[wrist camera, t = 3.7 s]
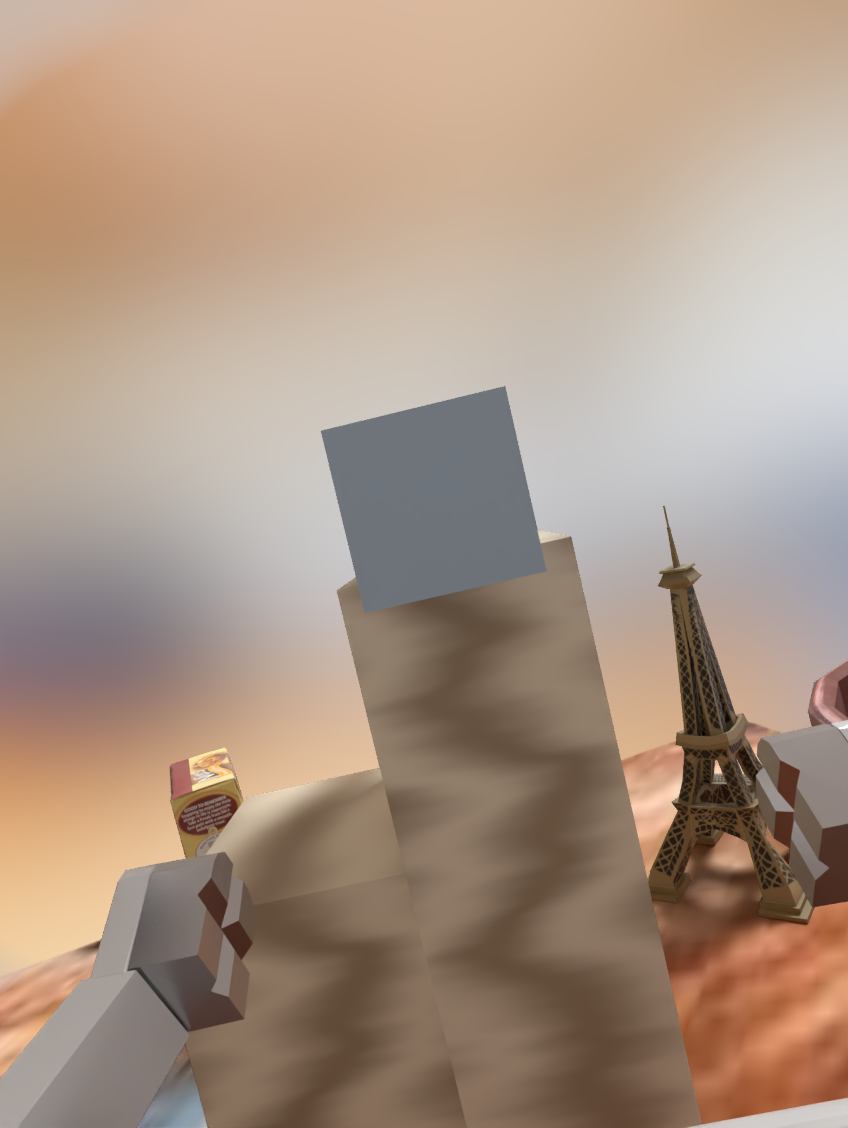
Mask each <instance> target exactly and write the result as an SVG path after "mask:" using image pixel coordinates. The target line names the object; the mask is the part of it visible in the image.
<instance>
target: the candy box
mask: <svg viewBox="0 0 848 1128" xmlns="http://www.w3.org/2000/svg"><path fill="white" fill-rule="evenodd" d="M170 783H171V784H170V785H171V800H170V801H171V805H172V809H173V813H174V817H175V820H176V824H177V828H178V831H179V835H180V838H181V842H182V846H183V850H184V854H185V857H186V859H187V858H193V857H198V856H204V855H206V853H207V852H208V850H209V849H210V848H211V846H212V845H213V843H214V842H215V841H216V839H217V838H218V836H219V835H220V834H221V832H222V831H223V829H224V828H225V827H226V825H227V824H228V822H229V821H230V820H231V818H232V817H233V815H234V814H235V812H236V811H237V810H238V808H239V807H240V805H241V804H242V803H243V797H242V794H241V790H240V787H239V784H238V781H237V777H236V774H235V771H234V768H233V766H232V763H231V760H230V758H229V755H228V753H227V750H226V748H222V749H218V750H215V751H212V752H209V753H205V754H202V755H199V756H196V757H192V758H190V759H187V760H183V761H180V762H177V763H174V764H172V765H171V766H170Z"/></svg>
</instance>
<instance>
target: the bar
mask: <svg viewBox="0 0 848 1128" xmlns="http://www.w3.org/2000/svg"><path fill="white" fill-rule="evenodd" d="M321 433H322V437H323V442H324V445H325V449H326V453H327V458H328V462H329V466H330V471H331V475H332V479H333V483H334V487H335V491H336V496H337V500H338V504H339V508H340V512H341V516H342V520H343V525H344V528H345V533H346V537H347V541H348V545H349V550H350V554H351V558H352V562H353V566H354V570H355V575H356V579H357V583H358V587H359V591H360V595H361V599H362V604H363V608H364V612H365V613H367V612H372V611H376V610H381V609H385V608H389V607H394V606H398V605H402V604H407V603H411V602H415V601H420V600H424V599H428V598H433V597H437V596H441V595H446V594H450V593H455V592H459V591H463V590H468V589H472V588H476V587H481V586H485V585H489V584H494V583H498V582H502V581H507V580H511V579H515V578H520V577H524V576H529V575H533V574H537V573H542V572H546V571H547V570H546V566H545V561H544V557H543V552H542V548H541V543H540V539H539V534H538V530H537V526H536V521H535V517H534V513H533V508H532V503H531V499H530V495H529V490H528V486H527V481H526V477H525V472H524V468H523V463H522V459H521V455H520V450H519V446H518V441H517V437H516V432H515V428H514V424H513V419H512V415H511V410H510V406H509V402H508V397H507V392H506V388H505V386H504V387H500V388H496V389H492V390H488V391H483V392H479V393H475V394H471V395H467V396H463V397H459V398H455V399H451V400H446V401H442V402H438V403H434V404H430V405H426V406H422V407H418V408H413V409H409V410H405V411H401V412H397V413H393V414H389V415H385V416H380V417H376V418H372V419H368V420H364V421H360V422H355V423H351V424H347V425H343V426H339V427H335V428H331V429H327V430H323V431H321Z"/></svg>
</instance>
